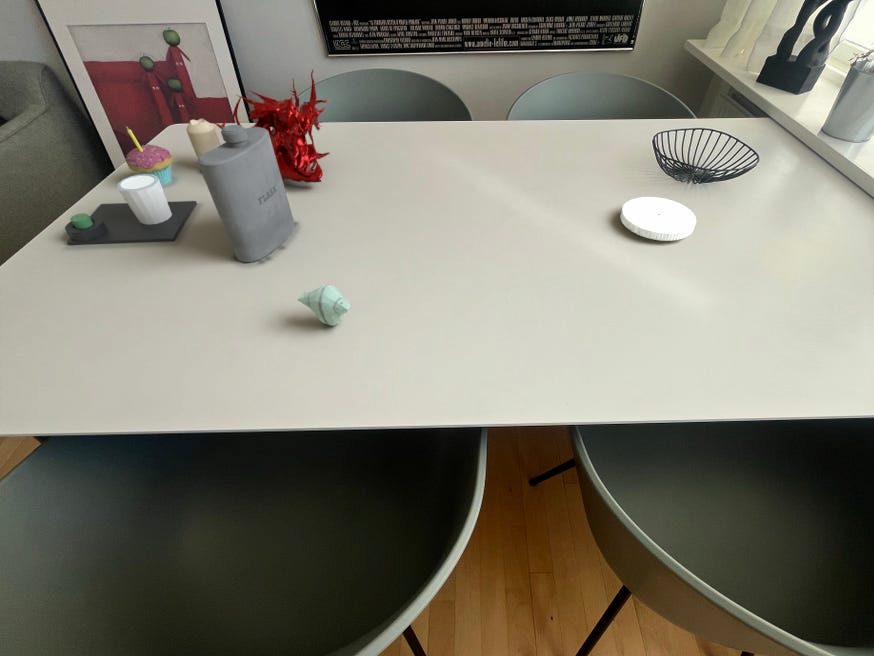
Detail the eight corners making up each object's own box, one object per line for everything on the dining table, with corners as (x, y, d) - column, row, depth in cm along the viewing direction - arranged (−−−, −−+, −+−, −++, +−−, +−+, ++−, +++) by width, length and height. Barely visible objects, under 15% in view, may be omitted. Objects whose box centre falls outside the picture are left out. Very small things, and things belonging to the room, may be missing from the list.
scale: (66, 245, 86) (58, 233, 84) (101, 207, 96) (94, 195, 94) (174, 241, 87) (168, 229, 86) (197, 204, 97) (192, 192, 95)
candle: (196, 170, 107) (177, 124, 100) (211, 160, 111) (194, 114, 104) (218, 173, 106) (200, 126, 99) (233, 163, 110) (216, 117, 103)
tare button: (72, 230, 86) (66, 221, 84) (80, 222, 88) (74, 213, 86) (89, 229, 86) (83, 220, 85) (96, 221, 88) (91, 212, 86)
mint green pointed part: (302, 327, 72) (290, 291, 67) (315, 310, 75) (305, 274, 70) (351, 337, 71) (343, 301, 66) (363, 319, 74) (355, 284, 69)
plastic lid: (664, 204, 101) (667, 192, 99) (707, 238, 92) (711, 226, 90) (606, 214, 98) (608, 202, 96) (644, 250, 89) (648, 238, 87)
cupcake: (170, 190, 101) (143, 131, 92) (129, 189, 101) (98, 130, 92) (187, 171, 107) (162, 114, 98) (148, 171, 107) (120, 114, 98)
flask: (260, 266, 83) (217, 149, 68) (230, 260, 84) (182, 144, 69) (303, 223, 93) (274, 113, 78) (276, 218, 94) (242, 109, 79)
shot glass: (181, 208, 94) (165, 173, 89) (166, 226, 90) (148, 191, 85) (145, 207, 94) (127, 173, 89) (128, 226, 90) (108, 190, 84)
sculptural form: (307, 152, 90) (363, 82, 99) (185, 96, 90) (253, 30, 99) (320, 220, 109) (367, 156, 118) (220, 174, 109) (274, 112, 118)
